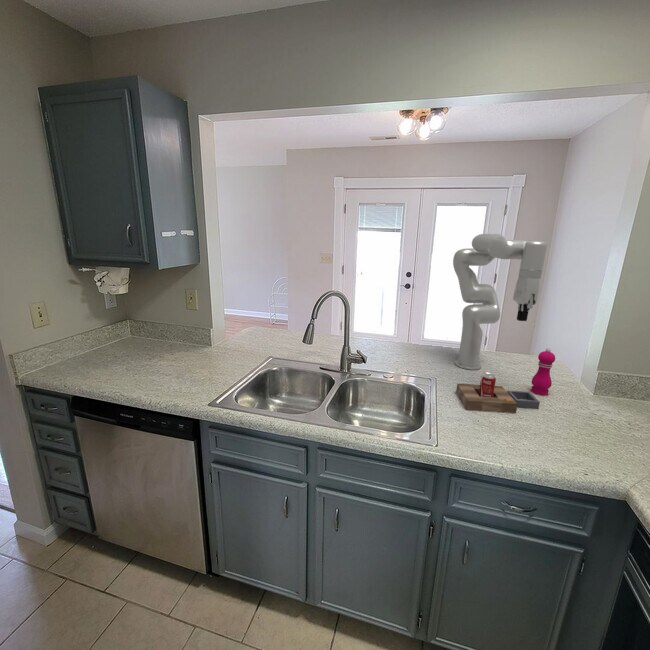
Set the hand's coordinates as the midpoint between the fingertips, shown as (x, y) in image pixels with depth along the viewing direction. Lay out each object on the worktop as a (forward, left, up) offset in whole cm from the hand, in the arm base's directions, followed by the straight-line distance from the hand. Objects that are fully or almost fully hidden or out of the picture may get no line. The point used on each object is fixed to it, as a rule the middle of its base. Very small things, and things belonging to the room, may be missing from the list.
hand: (521, 320), depth 135 cm
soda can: (+10, -13, -32) cm, 36 cm away
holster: (+8, +2, -32) cm, 33 cm away
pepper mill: (-3, +14, -32) cm, 35 cm away
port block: (+10, -13, -32) cm, 36 cm away
